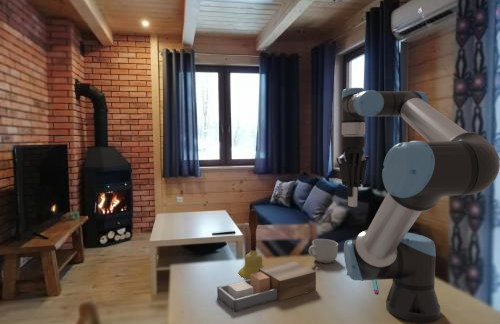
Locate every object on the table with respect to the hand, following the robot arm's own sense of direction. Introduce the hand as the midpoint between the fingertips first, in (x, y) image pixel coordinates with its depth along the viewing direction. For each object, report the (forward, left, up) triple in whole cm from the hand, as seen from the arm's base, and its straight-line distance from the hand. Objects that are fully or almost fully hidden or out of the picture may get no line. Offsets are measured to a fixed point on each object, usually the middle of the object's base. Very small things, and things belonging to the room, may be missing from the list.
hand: (352, 206), depth 127 cm
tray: (+14, +33, -29) cm, 47 cm away
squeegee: (+7, -12, -30) cm, 33 cm away
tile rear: (+14, +30, -26) cm, 42 cm away
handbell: (+32, +20, -30) cm, 48 cm away
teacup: (+28, -11, -30) cm, 42 cm away
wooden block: (+14, +18, -29) cm, 37 cm away
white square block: (+14, +36, -25) cm, 46 cm away
